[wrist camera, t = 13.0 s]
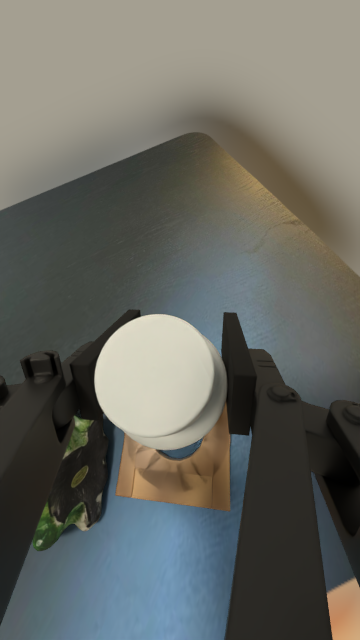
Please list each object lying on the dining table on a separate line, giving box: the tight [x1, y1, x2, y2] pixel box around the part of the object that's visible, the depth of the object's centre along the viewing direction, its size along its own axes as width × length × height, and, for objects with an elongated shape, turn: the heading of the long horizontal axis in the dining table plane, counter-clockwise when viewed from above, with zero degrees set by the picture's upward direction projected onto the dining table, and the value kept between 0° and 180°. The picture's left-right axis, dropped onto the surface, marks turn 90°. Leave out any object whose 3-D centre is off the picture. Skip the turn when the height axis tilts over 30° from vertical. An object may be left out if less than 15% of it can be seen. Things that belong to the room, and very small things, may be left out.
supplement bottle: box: [94, 314, 228, 450], centre depth 11 cm, size 5×5×10 cm
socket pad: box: [115, 403, 230, 511], centre depth 26 cm, size 12×14×2 cm
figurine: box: [33, 415, 108, 551], centre depth 23 cm, size 14×9×15 cm
